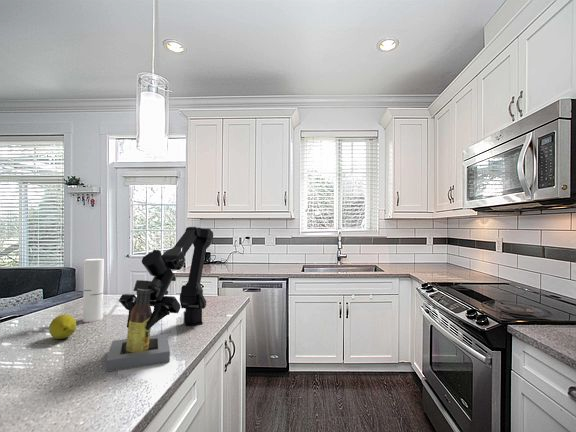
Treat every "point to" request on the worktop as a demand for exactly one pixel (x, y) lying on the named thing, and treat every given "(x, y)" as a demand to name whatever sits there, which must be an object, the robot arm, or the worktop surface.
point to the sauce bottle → (139, 323)
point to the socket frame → (138, 354)
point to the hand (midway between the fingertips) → (137, 328)
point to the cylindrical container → (93, 290)
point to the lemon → (62, 326)
